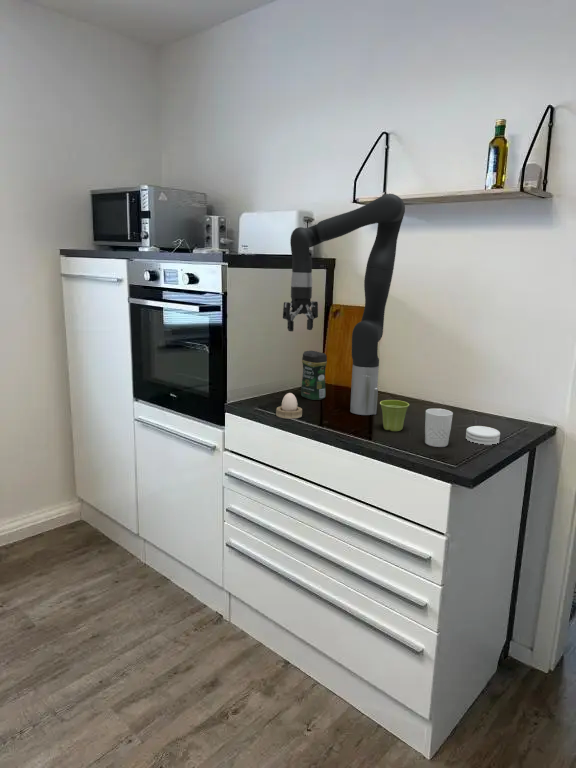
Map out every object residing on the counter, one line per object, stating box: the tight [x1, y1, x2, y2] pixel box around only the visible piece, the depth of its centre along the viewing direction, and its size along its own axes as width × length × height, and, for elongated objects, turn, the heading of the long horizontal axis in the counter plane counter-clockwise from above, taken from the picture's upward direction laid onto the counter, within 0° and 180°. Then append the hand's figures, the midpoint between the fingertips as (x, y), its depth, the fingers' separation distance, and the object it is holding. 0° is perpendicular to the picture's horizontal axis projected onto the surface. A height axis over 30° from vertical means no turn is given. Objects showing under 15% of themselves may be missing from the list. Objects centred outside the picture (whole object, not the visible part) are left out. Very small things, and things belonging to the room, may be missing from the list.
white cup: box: [424, 408, 454, 448], centre depth 170 cm, size 8×8×10 cm
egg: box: [281, 392, 298, 412], centre depth 197 cm, size 6×6×8 cm
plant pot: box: [379, 399, 410, 432], centre depth 184 cm, size 9×9×9 cm
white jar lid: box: [465, 425, 501, 446], centre depth 176 cm, size 10×10×4 cm
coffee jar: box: [300, 350, 328, 401], centre depth 221 cm, size 10×8×19 cm
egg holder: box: [275, 405, 303, 420], centre depth 197 cm, size 9×9×2 cm
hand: (300, 330), depth 206 cm, fingers open, 8 cm apart
